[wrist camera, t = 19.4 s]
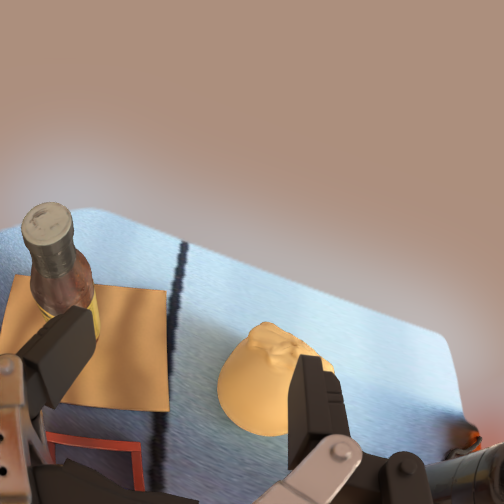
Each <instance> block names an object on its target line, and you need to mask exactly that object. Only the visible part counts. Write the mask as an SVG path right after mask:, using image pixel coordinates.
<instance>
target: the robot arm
mask: <svg viewBox="0 0 504 504" xmlns="http://www.w3.org/2000/svg"><path fill="white" fill-rule="evenodd" d="M95 349H96V336H95V329H94V321H93V314H92V311H91V310H90V309H86V308H83V307H79V306H76V305H73V306H71V307H70V308H69V309H68V310H67V311H66V312H65V313H64V314H59V315H57V316H55V317H53V318H51V319H50V320H49V321H48V322H46V323H45V324H44V325H43V328H40V329H39V330H38V331H37V334H34V335H33V336H32V337H31V338H30V339H29V340H28V341H27V342H26V344H25V345H24V346H23V347H22V348H21V349H20V350H19V351H18V352H17V353H16V354H12V353H4V354H1V355H0V504H199V501H198V500H193V499H188V498H184V497H179V496H175V495H171V494H167V493H162V492H147V491H135V490H127V489H124V488H122V487H121V486H119V485H117V484H116V483H114V482H113V481H111V480H110V479H108V478H106V477H105V476H103V475H102V474H100V473H99V472H97V471H96V470H94V469H91V468H89V467H86V466H84V465H82V464H79V463H77V462H75V461H72V460H70V459H68V458H67V459H66V461H65V463H64V465H59V464H54V463H53V461H52V458H51V456H50V452H49V448H48V443H47V438H46V432H45V426H44V419H43V413H42V411H41V409H42V408H43V406H44V405H46V406H48V407H50V408H52V409H54V410H55V409H56V407H57V406H58V404H59V403H60V401H61V400H62V398H63V397H64V395H65V394H66V393H67V391H68V390H69V388H70V387H71V385H72V384H73V382H74V381H75V380H76V378H77V377H78V375H79V374H80V373H81V371H82V370H83V368H84V367H85V366H86V364H87V363H88V361H89V360H90V359H91V357H92V356H93V354H94V352H95ZM343 402H344V400H343V395H342V390H341V385H340V381H339V380H338V379H337V377H336V376H335V374H334V373H333V372H332V371H323V365H322V359H321V357H320V356H312V355H304V354H300V355H299V358H298V361H297V364H296V367H295V370H294V373H293V376H292V379H291V382H290V385H289V390H288V470H293V471H292V472H291V473H290V474H289V475H288V476H287V477H286V478H285V479H283V480H282V481H281V480H279V481H278V482H276V483H275V484H274V485H273V486H271V487H270V488H269V489H268V490H267V491H266V492H265V493H264V494H263V495H261V496H260V497H259V498H258V499H257V500H256V501H254V502H253V503H252V504H504V442H502V443H499V444H496V445H494V446H491V447H488V448H485V449H482V450H479V451H476V452H473V453H470V454H467V453H469V452H471V451H472V450H474V449H475V448H476V447H477V446H478V445H479V444H480V443H481V441H482V437H480V436H479V437H478V438H477V441H476V443H475V444H473V445H472V446H471V447H469V448H468V449H466V450H461V449H454V450H453V451H451V452H450V454H449V455H448V457H447V459H446V460H445V461H441V462H437V463H433V464H428V465H424V463H423V462H422V460H421V459H420V458H419V457H418V456H416V455H415V454H413V453H410V452H405V451H402V452H397V453H395V454H393V455H392V456H391V457H390V458H389V459H386V458H382V457H378V456H374V455H371V454H367V453H365V452H363V451H362V450H361V447H360V446H359V444H358V443H357V442H356V441H355V440H353V439H352V438H351V436H350V431H349V426H348V420H347V415H346V410H345V405H344V404H343ZM456 453H457V454H459V455H463V456H460V457H456V458H453V456H454V455H455V454H456ZM465 454H466V455H465ZM452 458H453V459H452Z"/></svg>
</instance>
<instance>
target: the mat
mask: <svg viewBox="0 0 504 504" xmlns="http://www.w3.org/2000/svg"><path fill="white" fill-rule="evenodd" d="M30 278H31V276H24V275H17V274H15V277H14V280H13V284H12V287H11V291H10V295H9V299H8V303H7V307H6V311H5V315H4V319H3V324H2V329H1V334H0V355H1V354H4V353H12V354H16V353H17V352H18V351H19V350H20V349H21V348H22V347H23V346H24V345H25V344H26V342H27V341H28V340H29V339H30V338H31V337H32V336H33V335H34V334H37V331H38V330H39V329H40V328H43V325H44V324H45V323H46V321H45V319H44V317H43V316H42V314H41V312H40V310H39V308H38V306H37V304H36V302H35V300H34V298H33V296H32V293H31V290H30ZM94 287H95V293H96V299H97V305H98V311H99V317H100V322H101V329H100V336H99V340H98V341H97V343H96V349H95V352H94V354H93V356H92V357H91V359H90V360H89V361H88V363H87V364H86V366H85V367H84V368H83V370H82V371H81V373H80V374H79V375H78V377H77V378H76V380H75V381H74V382H73V384H72V385H71V387H70V388H69V390H68V391H67V393H66V394H65V395H64V397H63V398H62V400H61V401H60V403H66V404H73V405H80V406H88V407H97V408H107V409H118V410H132V411H152V412H169V411H170V410H169V393H168V371H167V334H166V291H163V290H151V289H139V288H129V287H118V286H108V285H98V284H94Z"/></svg>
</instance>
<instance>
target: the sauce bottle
mask: <svg viewBox="0 0 504 504" xmlns="http://www.w3.org/2000/svg"><path fill="white" fill-rule="evenodd" d="M21 232H22V236H23V240H24V243H25V246H26V247H27V248H28V250H29V251H30V254H31V257H32V269H31V278H30V290H31V293H32V296H33V298H34V300H35V302H36V304H37V306H38V308H39V310H40V312H41V314H42V316H43V317H44V319H45V321H46V322H48V321H49V320H50V319H51V318H53V317H55V316H57V315H59V314H64V313H65V312H66V311H67V310H68V309H69V308H70V307H71V306H73V305H76V306H79V307H83V308H86V309H90V310H91V311H92V314H93V321H94V329H95V336H96V343H97V341H98V340H99V336H100V329H101V322H100V317H99V311H98V305H97V299H96V293H95V287H94V282H93V279H92V272H91V268H90V265H89V263H88V261H87V259H86V258H85V257H84V255H83V254H82V253H81V252H80V251H79V250H77V249H76V248H75V246H74V243H73V235H74V227H73V220H72V216H71V213H70V211H69V210H68V209H67V208H66V207H65V206H63V205H61V204H59V203H55V202H47V203H42V204H40V205H37V206H35V207H34V208H33V209H31V210H30V211H29V212H28V213H27V215H26V216H25V218H24V219H23V222H22V225H21Z"/></svg>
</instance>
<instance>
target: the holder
mask: <svg viewBox="0 0 504 504" xmlns="http://www.w3.org/2000/svg"><path fill="white" fill-rule="evenodd" d="M45 432H46V438H47V443H48V448H49V452H50V456H51V458H52V461H53V463H54V464H56V461H55V443H57V444H62V445H69V446H75V447H83V448H91V449H100V450H110V451H123V452H131V456H132V468H133V479H134V488H135V491H145V487H144V478H143V468H142V456H141V443H140V442H129V441H115V440H104V439H94V438H86V437H78V436H71V435H65V434H58V433H53V432H47V431H45Z"/></svg>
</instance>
